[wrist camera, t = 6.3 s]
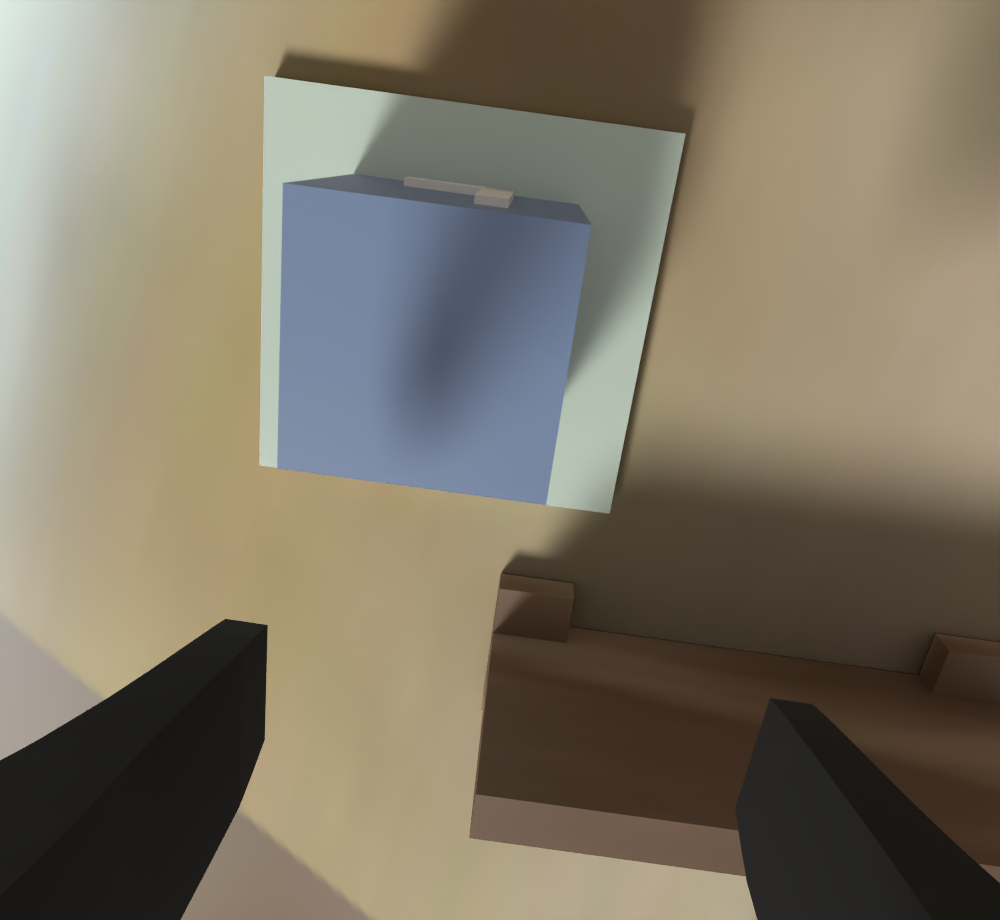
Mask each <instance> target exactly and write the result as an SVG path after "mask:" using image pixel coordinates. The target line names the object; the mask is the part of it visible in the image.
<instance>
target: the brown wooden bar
mask: <svg viewBox="0 0 1000 920" xmlns="http://www.w3.org/2000/svg"><path fill="white" fill-rule="evenodd" d="M573 604H574V586H573V583H567V582H560V581H552V580H545V579H538V578H531V577H523V576H516V575H509V574H502V573H501V576H500V583H499V590H498V597H497V604H496V610H495V617H494V624H493V631H492V638H491V644H490V651H489V658H488V665H487V672H486V678H485V685H484V692H483V701H482V710H483V716H482V725H481V735H480V744H479V753H478V762H477V772H476V781H475V790H474V800H473V809H472V818H471V827H470V837H469V838H473V839H481V840H488V841H495V842H502V843H509V844H517V845H524V846H531V847H538V848H546V849H553V850H560V851H567V852H574V853H582V854H589V855H596V856H603V857H611V858H618V859H625V860H632V861H639V862H647V863H654V864H661V865H668V866H675V867H683V868H690V869H697V870H704V871H712V872H719V873H726V874H733V875H740V876H746V874H745V868H744V863H743V857H742V851H741V845H740V838H739V832H738V825H737V818H736V811H735V807H736V804H737V801H738V797H739V794H740V791H741V788H742V785H743V782H744V778H745V775H746V772H747V769H748V766H749V763H750V760H751V756H752V753H753V750H754V747H755V744H756V741H757V737H758V734H759V731H760V728H761V725H762V722H763V718H764V715H765V712H766V709H767V706H768V703H769V699H770V698H773V699H780V700H787V701H794V702H801V703H808V704H813V705H814V706H815V707H816V708H818V709H819V710H820V711H821V712H822V713H823V714H824V715H825V716H826V717H827V718H828V719H829V720H830V721H832V722H833V723H834V724H835V725H836V726H837V727H838V728H839V729H840V730H841V731H842V732H843V733H844V734H845V735H846V736H847V737H848V738H849V739H850V740H851V741H852V742H853V743H854V744H855V745H856V746H857V747H858V748H859V749H860V750H861V751H862V752H863V753H864V754H865V755H866V756H867V757H868V758H869V759H870V760H871V761H872V762H873V763H874V764H875V765H876V766H877V767H878V768H879V769H880V770H881V771H882V772H883V773H884V774H885V775H886V776H887V777H888V778H889V779H890V780H891V781H892V782H893V783H894V784H895V785H896V786H897V787H898V788H899V789H900V790H901V791H902V792H903V793H904V794H905V795H906V796H907V797H908V798H909V799H910V800H911V801H912V802H913V803H914V804H915V805H916V806H917V807H918V808H919V809H920V810H921V811H922V812H923V813H924V814H925V815H926V816H927V817H928V818H929V819H930V820H931V821H932V822H934V823H935V824H936V825H937V826H938V827H939V828H940V829H941V830H942V831H943V832H944V833H945V834H946V835H947V836H948V837H949V838H951V839H952V840H953V841H954V842H955V843H956V844H957V845H958V846H959V847H960V848H961V849H962V850H963V851H965V852H966V853H967V854H968V855H969V856H970V857H971V858H972V859H974V860H975V861H976V862H977V863H978V864H979V865H980V866H981V867H982V868H984V869H985V870H986V871H987V872H988V873H989V874H990V875H991V876H993V877H994V878H995V879H996V880H997V881H998V882H999V883H1000V642H994V641H986V640H979V639H972V638H965V637H957V636H950V635H943V634H936V633H935V636H934V638H933V641H932V643H931V646H930V648H929V651H928V653H927V656H926V658H925V661H924V663H923V666H922V668H921V671H920V673H919V675H913V674H906V673H899V672H892V671H884V670H877V669H870V668H863V667H856V666H848V665H841V664H834V663H827V662H819V661H812V660H805V659H798V658H790V657H783V656H776V655H769V654H762V653H754V652H747V651H740V650H733V649H725V648H718V647H711V646H704V645H696V644H689V643H682V642H675V641H668V640H660V639H653V638H646V637H639V636H631V635H624V634H617V633H610V632H602V631H595V630H588V629H581V628H574V627H569V625H570V620H571V614H572V609H573Z"/></svg>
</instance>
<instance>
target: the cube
mask: <svg viewBox="0 0 1000 920" xmlns="http://www.w3.org/2000/svg"><path fill="white" fill-rule="evenodd" d="M514 194H515V191H513V190H505V189H498V188H491V187H483V186H476V185H469V184H461V183H454V182H446V181H439V180H432V179H424V178H417V177H410V176H409V177H404V181H402V180H394V179H387V178H380V177H372V176H365V175H357V174H349V175H341V176H333V177H326V178H318V179H310V180H302V181H294V182H287V183H283V202H282V252H281V302H280V352H279V402H278V452H277V468H278V469H286V470H293V471H300V472H308V473H315V474H322V475H330V476H337V477H344V478H352V479H359V480H366V481H374V482H381V483H388V484H396V485H403V486H410V487H418V488H425V489H432V490H440V491H447V492H454V493H462V494H469V495H476V496H484V497H491V498H498V499H506V500H513V501H520V502H528V503H535V504H542V505H546V502H547V496H548V490H549V484H550V478H551V471H552V465H553V459H554V453H555V447H556V441H557V435H558V429H559V423H560V416H561V410H562V404H563V398H564V392H565V386H566V380H567V374H568V367H569V361H570V355H571V349H572V343H573V337H574V331H575V325H576V318H577V312H578V306H579V300H580V294H581V288H582V282H583V276H584V269H585V263H586V257H587V251H588V245H589V239H590V233H591V227H592V224H591V223H590V221H589V220H588V218H587V217H586V215H585V214H584V212H583V210H582V209H581V207H580V206H579V205H578V204H571V203H564V202H556V201H549V200H542V199H534V198H527V197H520V196H514Z"/></svg>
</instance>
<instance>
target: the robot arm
mask: <svg viewBox="0 0 1000 920" xmlns="http://www.w3.org/2000/svg"><path fill="white" fill-rule="evenodd" d="M266 664H267V625H263V624H256V623H249V622H242V621H236V620H229V619H225V620H223V621H222V622H220V623H219V624H217V625H215V626H214V627H212V628H211V629H209V630H208V631H207V632H205V633H204V634H202V635H201V636H199V637H198V638H196V639H195V640H193V641H192V642H190V643H189V644H188V645H186V646H185V647H183V648H182V649H180V650H179V651H177V652H176V653H175V654H173V655H172V656H170V657H169V658H167V659H166V660H164V661H163V662H161V663H160V664H158V665H157V666H156V667H154V668H153V669H151V670H150V671H148V672H147V673H145V674H144V675H142V676H141V677H139V678H138V679H136V680H135V681H133V682H132V683H130V684H128V685H127V686H125V687H124V688H122V689H121V690H119V691H118V692H116V693H115V694H113V695H112V696H110V697H109V698H107V699H105V700H104V701H102V702H100V703H99V704H97V705H96V706H94V707H92V708H91V709H89V710H87V711H86V712H84V713H82V714H81V715H79V716H77V717H76V718H74V719H72V720H71V721H69V722H67V723H66V724H64V725H63V726H61V727H59V728H57V729H56V730H54V731H52V732H51V733H49V734H47V735H46V736H44V737H43V738H41V739H39V740H37V741H35V742H34V743H32V744H30V745H28V746H26V747H25V748H23V749H21V750H19V751H17V752H15V753H14V754H12V755H10V756H8V757H6V758H4V759H2V760H0V920H181V918H182V916H183V914H184V912H185V910H186V908H187V906H188V904H189V902H190V900H191V899H192V897H193V895H194V893H195V891H196V889H197V887H198V885H199V883H200V881H201V880H202V878H203V876H204V874H205V872H206V870H207V868H208V866H209V864H210V862H211V860H212V858H213V856H214V855H215V853H216V851H217V849H218V847H219V845H220V843H221V841H222V839H223V837H224V835H225V833H226V831H227V829H228V828H229V826H230V823H231V822H232V820H233V818H234V816H235V814H236V812H237V810H238V808H239V806H240V803H241V801H242V798H243V796H244V793H245V791H246V788H247V786H248V783H249V780H250V778H251V775H252V773H253V770H254V767H255V764H256V762H257V759H258V756H259V753H260V751H261V748H262V745H263V743H264V740H265V703H266ZM735 811H736V818H737V825H738V832H739V838H740V845H741V851H742V857H743V863H744V868H745V874H746V880H747V884H748V887H749V891H750V894H751V898H752V902H753V905H754V909H755V912H756V916H757V919H758V920H1000V883H999V882H998V881H997V880H996V879H995V878H994V877H993V876H991V875H990V874H989V873H988V872H987V871H986V870H985V869H984V868H982V867H981V866H980V865H979V864H978V863H977V862H976V861H975V860H974V859H972V858H971V857H970V856H969V855H968V854H967V853H966V852H965V851H963V850H962V849H961V848H960V847H959V846H958V845H957V844H956V843H955V842H954V841H953V840H952V839H951V838H949V837H948V836H947V835H946V834H945V833H944V832H943V831H942V830H941V829H940V828H939V827H938V826H937V825H936V824H935V823H934V822H932V821H931V820H930V819H929V818H928V817H927V816H926V815H925V814H924V813H923V812H922V811H921V810H920V809H919V808H918V807H917V806H916V805H915V804H914V803H913V802H912V801H911V800H910V799H909V798H908V797H907V796H906V795H905V794H904V793H903V792H902V791H901V790H900V789H899V788H898V787H897V786H896V785H895V784H894V783H893V782H892V781H891V780H890V779H889V778H888V777H887V776H886V775H885V774H884V773H883V772H882V771H881V770H880V769H879V768H878V767H877V766H876V765H875V764H874V763H873V762H872V761H871V760H870V759H869V758H868V757H867V756H866V755H865V754H864V753H863V752H862V751H861V750H860V749H859V748H858V747H857V746H856V745H855V744H854V743H853V742H852V741H851V740H850V739H849V738H848V737H847V736H846V735H845V734H844V733H843V732H842V731H841V730H840V729H839V728H838V727H837V726H836V725H835V724H834V723H833V722H832V721H830V720H829V719H828V718H827V717H826V716H825V715H824V714H823V713H822V712H821V711H820V710H819V709H818V708H816V707H815V706H814V705H813V704H808V703H801V702H794V701H787V700H780V699H773V698H770V699H769V703H768V706H767V709H766V712H765V715H764V718H763V722H762V725H761V728H760V731H759V734H758V737H757V741H756V744H755V747H754V750H753V753H752V756H751V760H750V763H749V766H748V769H747V772H746V775H745V778H744V782H743V785H742V788H741V791H740V794H739V797H738V801H737V804H736V807H735Z"/></svg>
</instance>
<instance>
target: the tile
mask: <svg viewBox="0 0 1000 920" xmlns="http://www.w3.org/2000/svg"><path fill="white" fill-rule="evenodd" d="M684 139H685V134H684V133H677V132H670V131H662V130H655V129H648V128H641V127H633V126H626V125H619V124H612V123H604V122H597V121H590V120H582V119H575V118H568V117H561V116H553V115H546V114H539V113H532V112H524V111H517V110H510V109H503V108H495V107H488V106H481V105H474V104H466V103H459V102H452V101H445V100H437V99H430V98H423V97H416V96H408V95H401V94H394V93H387V92H379V91H372V90H365V89H358V88H350V87H343V86H336V85H329V84H321V83H314V82H307V81H299V80H292V79H285V78H278V77H270V76H264V148H263V226H262V303H261V381H260V458H259V465H260V466H268V467H275V468H277V452H278V402H279V352H280V302H281V252H282V202H283V183H287V182H294V181H302V180H310V179H318V178H326V177H333V176H341V175H349V174H357V175H365V176H372V177H380V178H387V179H394V180H402V181H404V177H409V176H410V177H417V178H424V179H432V180H439V181H446V182H454V183H461V184H469V185H476V186H483V187H491V188H498V189H505V190H513V191H515V194H514V196H520V197H527V198H534V199H542V200H549V201H556V202H564V203H571V204H578V205H579V206H580V207H581V209H582V210H583V212H584V214H585V215H586V217H587V218H588V220H589V221H590V223H591V224H592V227H591V233H590V239H589V245H588V251H587V257H586V263H585V269H584V276H583V282H582V288H581V294H580V300H579V306H578V312H577V318H576V325H575V331H574V337H573V343H572V349H571V355H570V361H569V367H568V374H567V380H566V386H565V392H564V398H563V404H562V410H561V416H560V423H559V429H558V435H557V441H556V447H555V453H554V459H553V465H552V471H551V478H550V484H549V490H548V496H547V502H546V505H550V506H557V507H564V508H571V509H579V510H586V511H593V512H600V513H608V514H610V509H611V504H612V499H613V494H614V489H615V484H616V479H617V474H618V469H619V464H620V459H621V454H622V449H623V444H624V439H625V434H626V429H627V424H628V419H629V414H630V409H631V404H632V399H633V394H634V389H635V384H636V379H637V374H638V369H639V364H640V359H641V354H642V349H643V344H644V339H645V334H646V329H647V324H648V319H649V314H650V309H651V304H652V299H653V294H654V289H655V284H656V279H657V274H658V269H659V264H660V259H661V254H662V249H663V244H664V239H665V234H666V229H667V224H668V219H669V214H670V209H671V204H672V199H673V194H674V189H675V184H676V179H677V174H678V169H679V164H680V159H681V154H682V149H683V144H684Z"/></svg>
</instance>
